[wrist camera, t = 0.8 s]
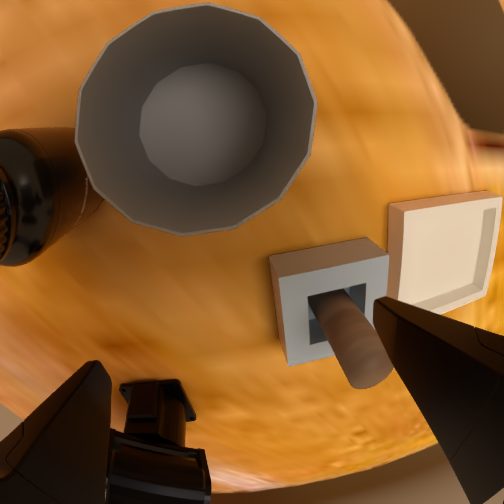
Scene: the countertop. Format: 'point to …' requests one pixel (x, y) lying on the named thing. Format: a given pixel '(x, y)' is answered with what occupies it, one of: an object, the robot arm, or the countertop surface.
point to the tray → (442, 249)
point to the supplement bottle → (40, 191)
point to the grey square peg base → (323, 290)
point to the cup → (195, 119)
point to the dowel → (351, 338)
